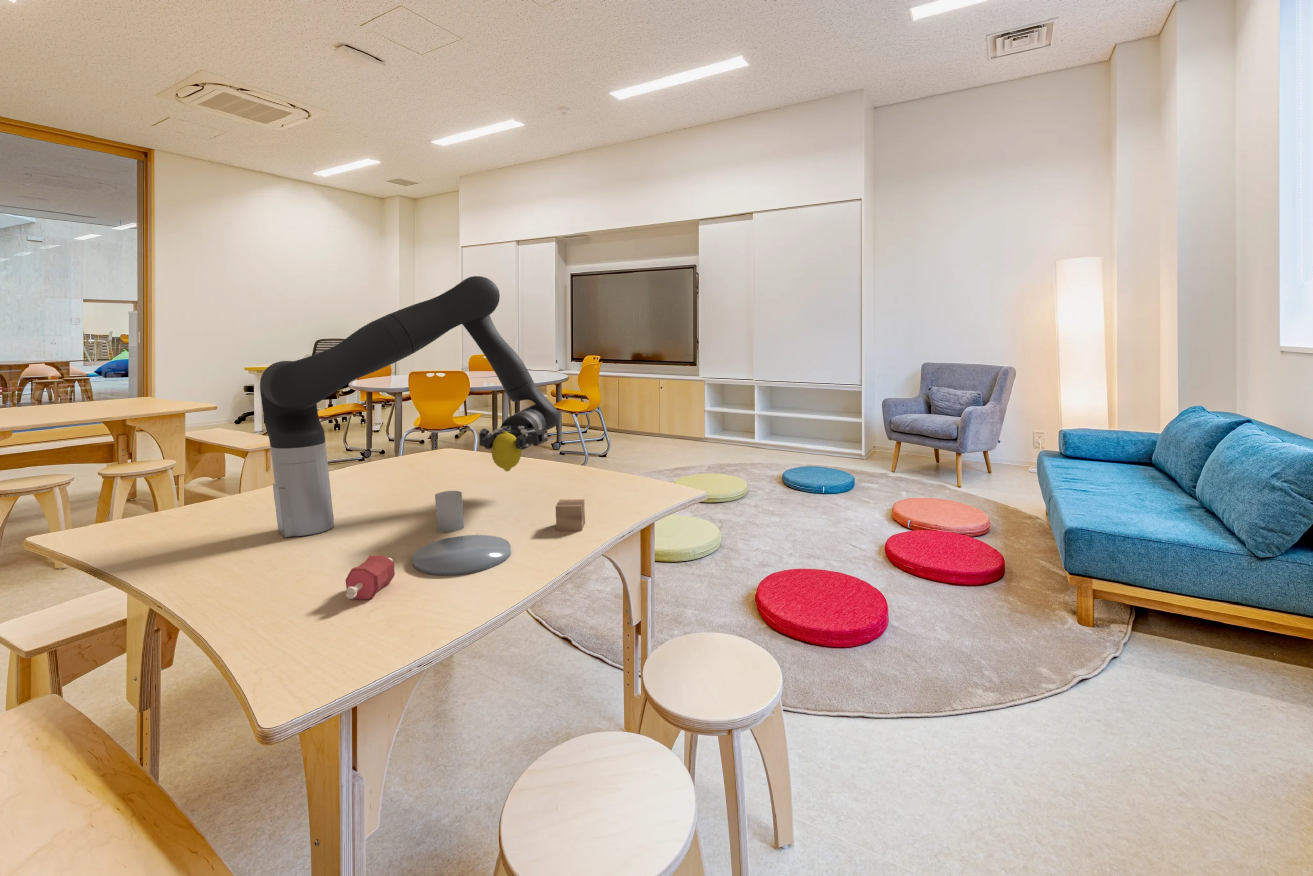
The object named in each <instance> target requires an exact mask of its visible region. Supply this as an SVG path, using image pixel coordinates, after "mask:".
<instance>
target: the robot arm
mask: <svg viewBox="0 0 1313 876" xmlns="http://www.w3.org/2000/svg"><path fill="white" fill-rule="evenodd" d="M500 297H501V295H500V290H499V287H498V286H497V285H496V284H495V282H494V281H492V280H491V279H490V278H487V277H485V276H479V275H475V276H474V275H473V276H469V277H467V278H465V279H463V280H462V281H460V282H459V283H458V284H457V283H456V285H455V286H454V287H452V288H450V289H448V290H446V291H445V292H442V293H441V294H439V295H438V296H435V297H432V298H430V299H427V300H424V301H421V302H418V303H415V304H412V305H409V306H405V307H404V308H402V309H401V308H400V309H398V310H395V311H393V312H390V313H388V314H385V315H383V316H381V317H380V318H377V319H375V320H373V321H371V322H369V323H367V324H365V325H364V326H361V327H360V328H358V329H357V330H355V331H353V333H351V334H350V335H349V336H348V337H346V338H345V339H343V340H342V341H341V342H339V343H338V344H335V345H334V346H332V347H330V348H328V349H325V350H323V351H321V352H318V353H314V354H312V355H309V356H306V357H302V358H299V359H296V360H281V361H276V362H274V363H272V364H270V365H269V366H268V367H266V368H265V369H264V371H263V372H262V374H261V377H260V381H259V391H260V399H261V406H262V407H261V408H262V412H263V413H262V414H263V420H264V427H265V430H266V433H267V436H268V440H269V446H270V447H269V448H270V456H271V463H272V470H273V471H272V472H273V480H274V483H273V484H272V490H273V498H274V507H275V515H276V521H277V531H278V532H279V533H280V534H281V535H282V536H283V538H289V537H301V536H310V535H314V534H315V535H316V534H319V533H323V532H326V531H328V530H331V529H332V528H333V527H335V519H334V508H333V500H332V499H333V498H332V491H331V481H330V472H329V462H328V454H327V445H326V434H325V430H324V427H323V425H322V423H321V421H320V417H319V413H318V405H317V404H319V403H320V402H322V401H323V400H325V399H326V398H328V397H329V396H331V395H332V394H334V393H335V392H337V391H338V390H340V389H342V388H343V387H345V386H347V385H348V384H349V383H352V382H354V381H355V380H358V379H359V378H362V377H365V376H367V375H369V374H372V373H374V372H377V371H379V370H381V369H384V368H387V367H388V366H391V365H393V364H395V363H397V362H400V361H401V360H403V359H405V358H407V357H409V356H411V355H414V354H415V353H417V352H418V351H420V350H422V349H424V348H425V347H427V346H428V345H430V344H431V343H433V342H434V341H436V340H437V339H438V338H441V337H442V336H444V335H445V334H446V333H448V332H449V331H450V330H452V329H454V328H456V327H459V326H461V325H462V326H463V327H464V329H465V330H466V332H467V333H469V335H470V336H471V337H472V340H474V342H475V343H476V345H477V347H478V348H479V349H480V351H481V352H482V353H483V355H484V356H485V358H486V360H487V361H488V363H489V365H490V366H491V368H492V369H493V371H494V373H495V375H496V376H497V379H498V380H499V382H500V384H501V385H502V388H503V390H504V391H505V393H506V395H507V397H508V398H509V400H510V401H511V402H514V403H516V402H517V403H518V402H522V401H531V402H532V403H534V404H533V405H530V406H528V407H526V408H524V409H521V410H520V411H518V412H515V413H514V414H512V415H510V416H508V417H507V418H505V420H504V421H503V422H502V423H501V425H500V427H499V428H495V429H493V431H492V432H490V430H489V429H486V428H481V429H480V431H479V432H478V438H479V439H478V440H479V446H481V447H483V448H485V450H490V449H492V444H493V441H494V439H495V438H496V437H497V436H498V435H500V434H502V433H503V432H504V431H507V432H508V433H510V434H512V435H514V436H515V437H516V444H517V449H521V451H523V450H526V449H528V448H529V447H531V446H534V447H537V446H539V445H541V444H544V443H546V442H547V441H548V439H549V438H548V431H550V430H551V429H553V428H555V427H557V426H558V424H559V422H560V414H559V411H558V410H557V408H556V407H555V405H554V404H553V403H552V402H551V401H550V400H549V399H548V398H547V397H546V396H545V395H544V393H543V392H542V391H541V390H540V389H539V388H538V386H537V385H536V383H535V380H533V378H532V375H531V373H530V372H529V370H528V369H527V367H526V365H525V363H524V361H523V360H522V358H521V357H520V356H519V355H518V353H517V351H515V350H514V348H512V346H510V345H509V343H507V341H505V339H504V337H502V335H501V333H500V332H499V331H498V329H497V328H496V326H495V325H494V322H493V320H492V318H491V316H490V315H491V314H493V313H494V312H495V310H496V309H497V308H498V306H499V302H500Z"/></svg>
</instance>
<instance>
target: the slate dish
mask: <svg viewBox="0 0 1313 876" xmlns="http://www.w3.org/2000/svg"><path fill="white" fill-rule="evenodd" d="M511 548H512V547H511V543H510V541H508V540H507V539H505V538H503V537H499V536H495V535H494V536H493V535H487V534H468V535H459V536H458V535H457V536H451V537H448V538H447V537H446V538H442V539H439V540H435V541H433V542H429V543H427V544H425V545H423V546H421V547H419V548H417V550H416V551H414V553H413V554H412V565H413V567H414V569H415V570H417V571H418V572H420V573H424V574H427V575H434V576H457V575H458V576H459V575H467V574H472V573H474V574H475V573H477V572H478V573H479V572H482V571H486V570H488V569H492V568H493V567H496V566H499V565H501V564H503V563H504V562H505V561H507V560H508V559H509V558H510V556H511V554H512V550H511Z"/></svg>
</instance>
